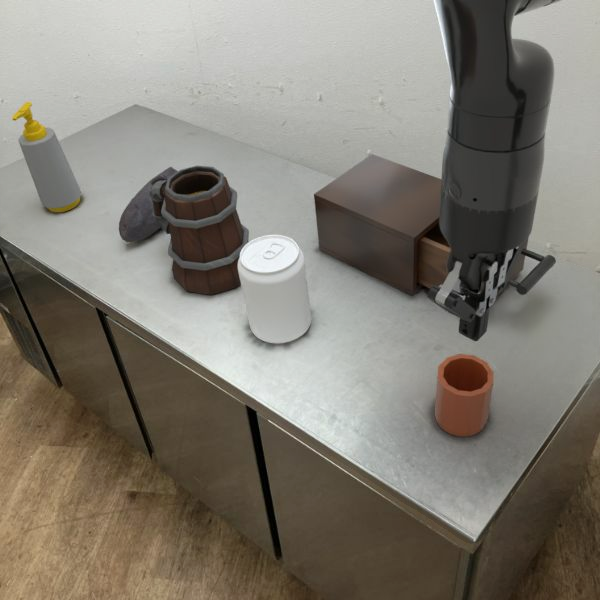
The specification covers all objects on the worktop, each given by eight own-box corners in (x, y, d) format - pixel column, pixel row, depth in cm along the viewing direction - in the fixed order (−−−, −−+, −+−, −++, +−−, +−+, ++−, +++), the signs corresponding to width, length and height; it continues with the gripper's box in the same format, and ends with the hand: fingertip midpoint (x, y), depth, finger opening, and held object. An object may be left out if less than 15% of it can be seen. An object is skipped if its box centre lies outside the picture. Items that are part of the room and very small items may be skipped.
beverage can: (238, 334, 84) (221, 263, 76) (272, 296, 89) (260, 225, 81) (290, 354, 81) (279, 282, 73) (323, 314, 85) (315, 242, 77)
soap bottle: (37, 215, 110) (-8, 118, 98) (54, 191, 115) (14, 96, 103) (74, 215, 109) (34, 117, 97) (90, 192, 114) (54, 95, 102)
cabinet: (465, 248, 93) (471, 190, 86) (412, 296, 86) (414, 237, 80) (373, 208, 102) (371, 153, 95) (319, 249, 96) (313, 194, 89)
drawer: (557, 284, 84) (568, 235, 79) (511, 335, 78) (519, 286, 73) (426, 228, 95) (427, 183, 90) (376, 269, 90) (375, 223, 84)
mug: (270, 256, 95) (255, 168, 85) (218, 306, 89) (195, 216, 78) (192, 227, 103) (170, 143, 93) (138, 271, 96) (108, 185, 86)
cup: (496, 412, 71) (504, 370, 67) (468, 445, 69) (474, 404, 64) (453, 387, 74) (457, 346, 70) (424, 418, 72) (427, 377, 67)
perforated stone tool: (137, 255, 99) (125, 218, 94) (113, 246, 101) (99, 209, 97) (199, 204, 108) (190, 167, 103) (175, 196, 110) (165, 161, 105)
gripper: (485, 239, 46) (467, 394, 58) (575, 158, 52) (542, 312, 64) (400, 204, 50) (399, 355, 62) (492, 133, 57) (476, 282, 68)
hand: (472, 333), depth 63 cm, fingers closed
